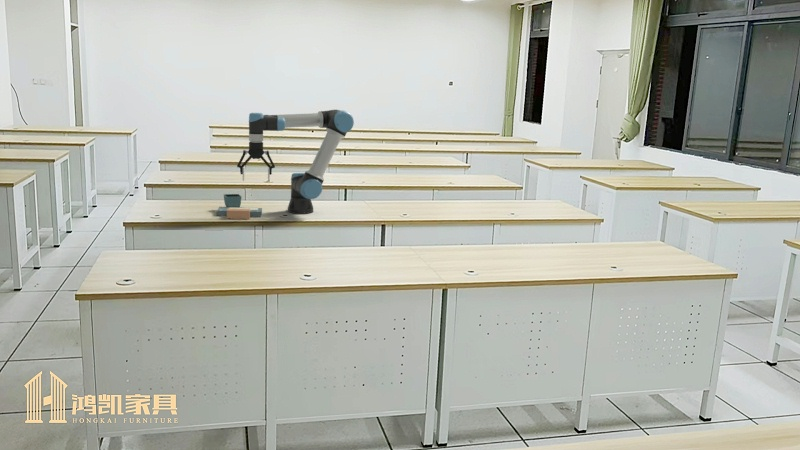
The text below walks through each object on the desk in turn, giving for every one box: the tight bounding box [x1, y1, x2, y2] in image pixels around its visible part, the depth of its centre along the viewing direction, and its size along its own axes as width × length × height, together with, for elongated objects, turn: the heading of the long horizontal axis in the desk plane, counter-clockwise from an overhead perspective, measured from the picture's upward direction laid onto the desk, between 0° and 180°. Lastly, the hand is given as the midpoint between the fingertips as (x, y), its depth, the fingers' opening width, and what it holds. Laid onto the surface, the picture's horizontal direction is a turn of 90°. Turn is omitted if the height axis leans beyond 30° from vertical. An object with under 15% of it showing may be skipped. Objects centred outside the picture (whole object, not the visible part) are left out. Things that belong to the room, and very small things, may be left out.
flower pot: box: [223, 193, 243, 207], centre depth 390 cm, size 9×9×9 cm
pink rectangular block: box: [226, 208, 251, 220], centre depth 372 cm, size 12×6×5 cm, turn 98°
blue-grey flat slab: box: [216, 206, 263, 218], centre depth 381 cm, size 24×11×3 cm, turn 98°
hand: (256, 180), depth 370 cm, fingers open, 13 cm apart
